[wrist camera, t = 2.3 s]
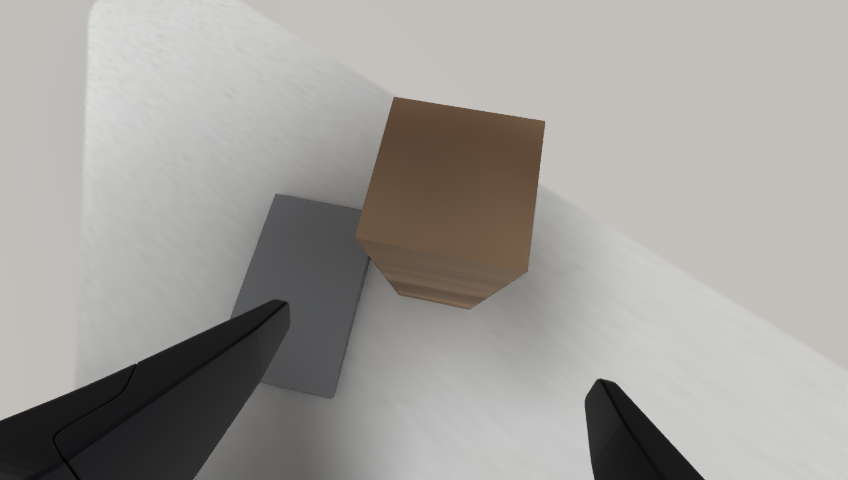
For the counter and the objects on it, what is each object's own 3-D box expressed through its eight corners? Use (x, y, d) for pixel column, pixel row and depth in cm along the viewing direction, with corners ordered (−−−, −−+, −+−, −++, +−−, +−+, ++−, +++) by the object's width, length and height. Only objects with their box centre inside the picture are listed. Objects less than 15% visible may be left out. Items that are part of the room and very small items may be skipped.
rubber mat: (333, 396, 18) (330, 398, 18) (217, 369, 19) (211, 370, 18) (380, 217, 21) (379, 213, 21) (279, 197, 22) (275, 194, 21)
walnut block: (469, 309, 19) (527, 271, 8) (398, 294, 20) (354, 237, 8) (481, 240, 21) (544, 121, 9) (413, 227, 21) (393, 96, 9)
